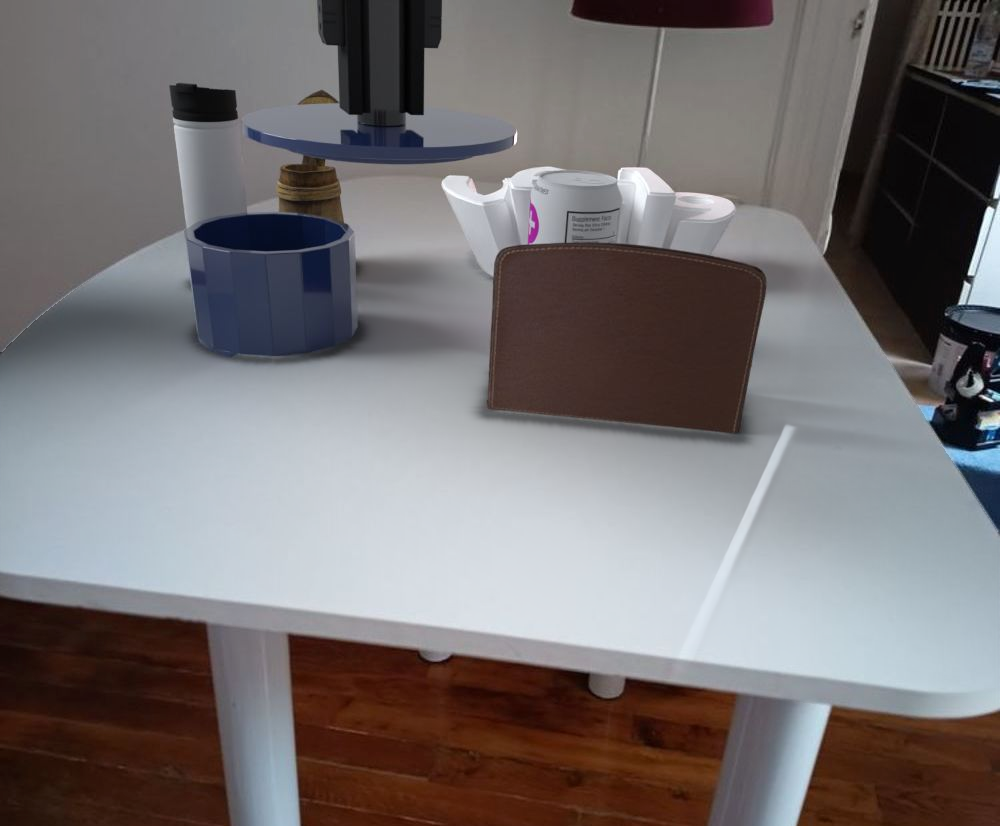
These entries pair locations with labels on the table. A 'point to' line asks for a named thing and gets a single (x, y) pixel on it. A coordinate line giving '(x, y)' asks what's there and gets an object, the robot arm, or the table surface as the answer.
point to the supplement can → (574, 208)
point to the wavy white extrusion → (644, 218)
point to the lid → (380, 111)
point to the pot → (272, 283)
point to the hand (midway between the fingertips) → (381, 110)
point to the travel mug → (208, 151)
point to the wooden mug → (310, 180)
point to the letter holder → (623, 334)
